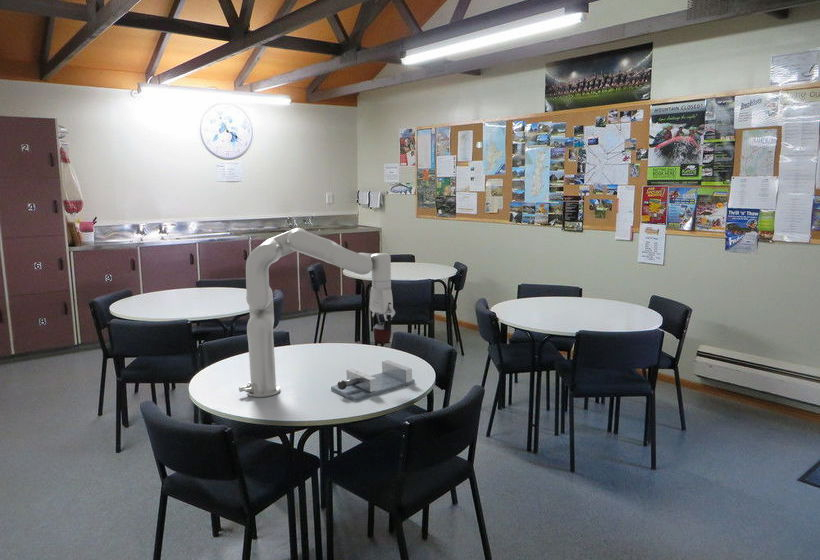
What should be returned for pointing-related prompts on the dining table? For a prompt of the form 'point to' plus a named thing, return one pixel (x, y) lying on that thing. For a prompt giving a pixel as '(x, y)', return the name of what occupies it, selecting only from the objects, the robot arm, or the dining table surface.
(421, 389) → the dining table surface
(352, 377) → the vise jaw
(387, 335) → the mate gourd
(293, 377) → the dining table surface
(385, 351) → the dining table surface
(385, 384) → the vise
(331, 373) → the dining table surface
